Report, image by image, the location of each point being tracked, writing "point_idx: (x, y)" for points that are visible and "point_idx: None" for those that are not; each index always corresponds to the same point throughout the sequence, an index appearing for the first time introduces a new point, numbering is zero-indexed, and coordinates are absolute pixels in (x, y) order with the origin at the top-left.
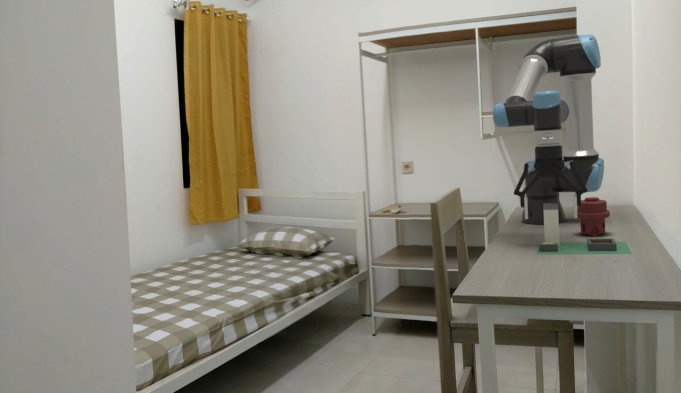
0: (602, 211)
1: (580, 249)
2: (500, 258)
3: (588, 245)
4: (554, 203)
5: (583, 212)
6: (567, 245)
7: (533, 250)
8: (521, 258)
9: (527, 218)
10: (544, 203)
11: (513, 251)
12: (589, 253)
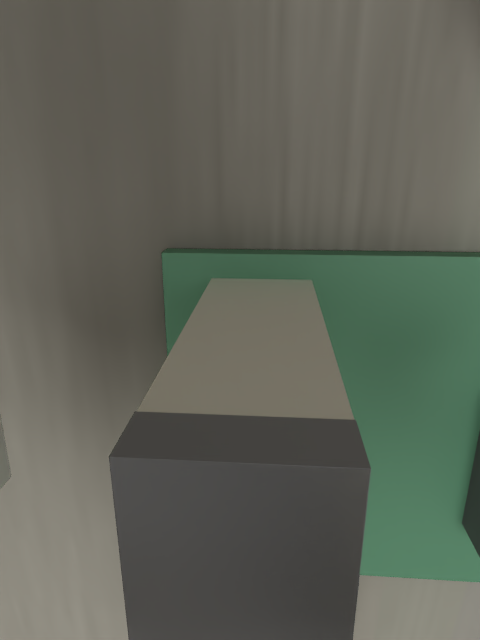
0: None
1: (422, 482)
2: (7, 545)
3: (476, 531)
4: (304, 529)
5: None
6: (359, 368)
7: (148, 384)
8: (108, 553)
9: (5, 479)
10: (130, 488)
11: (37, 402)
12: (452, 574)
